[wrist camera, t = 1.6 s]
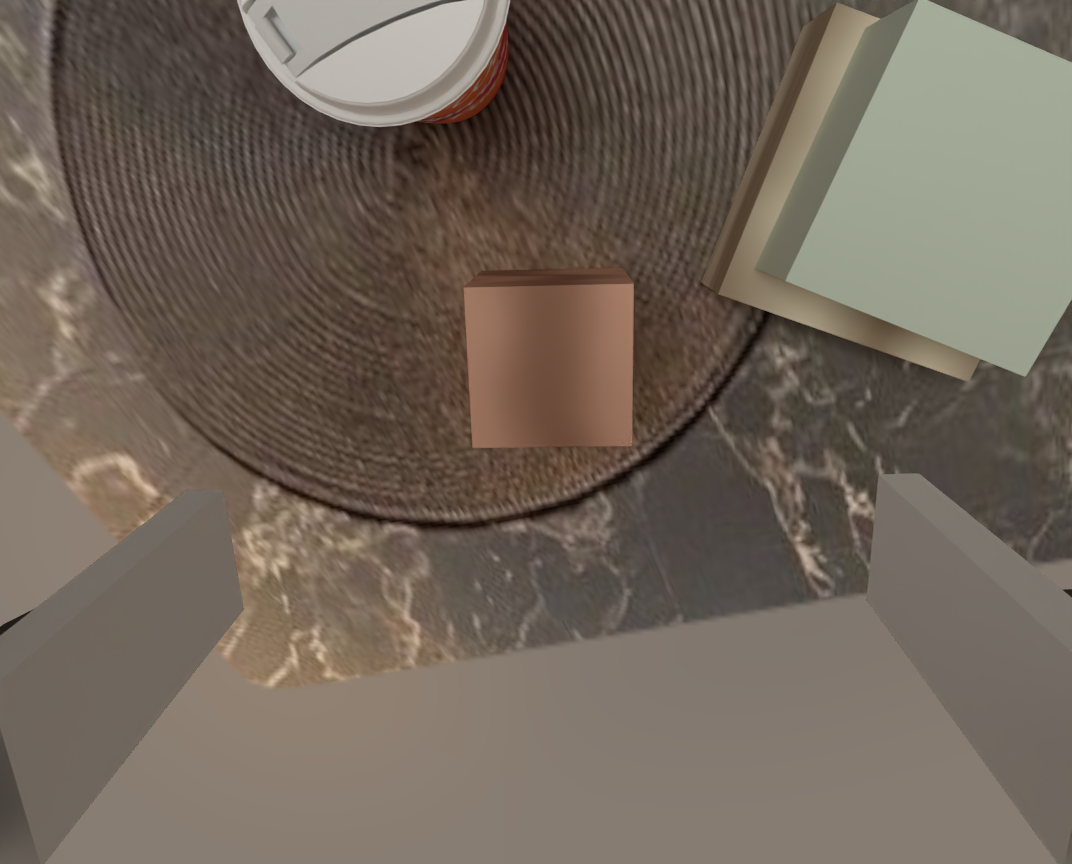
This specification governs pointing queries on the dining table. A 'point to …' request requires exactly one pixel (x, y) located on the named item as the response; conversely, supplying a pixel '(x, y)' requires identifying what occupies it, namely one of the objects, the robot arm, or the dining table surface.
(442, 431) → the dining table surface
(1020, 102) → the tower top
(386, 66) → the coffee cup
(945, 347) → the tower base
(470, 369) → the terracotta cube
